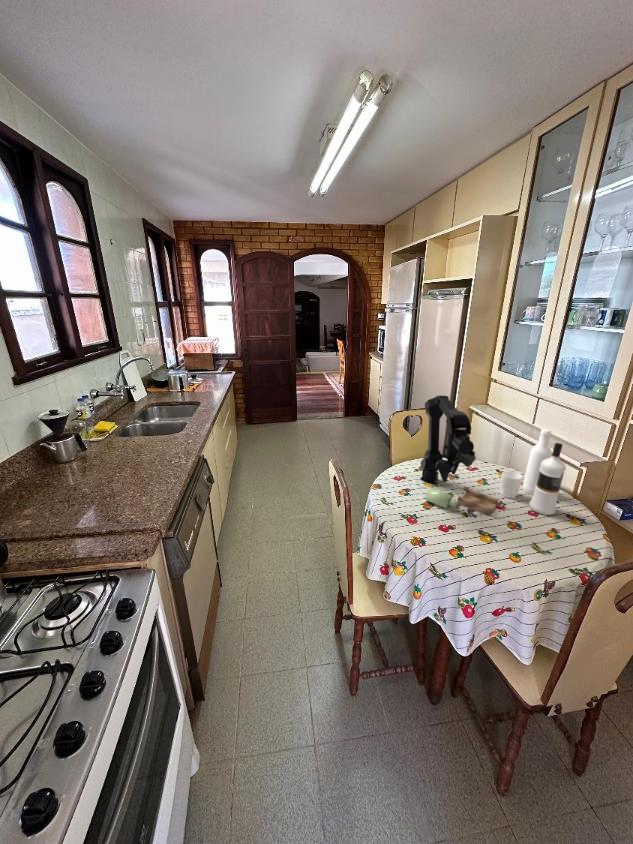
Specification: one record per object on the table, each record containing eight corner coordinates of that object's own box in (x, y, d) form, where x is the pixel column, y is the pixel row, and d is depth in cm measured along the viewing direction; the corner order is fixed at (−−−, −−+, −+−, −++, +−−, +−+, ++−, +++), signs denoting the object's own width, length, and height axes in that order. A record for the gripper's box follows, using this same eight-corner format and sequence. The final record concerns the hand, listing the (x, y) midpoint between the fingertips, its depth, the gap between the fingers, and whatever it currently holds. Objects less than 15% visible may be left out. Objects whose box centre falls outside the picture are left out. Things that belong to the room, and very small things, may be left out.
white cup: (516, 501, 151) (520, 481, 147) (496, 495, 155) (500, 475, 152) (519, 493, 157) (523, 474, 153) (500, 488, 161) (503, 469, 158)
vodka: (535, 501, 151) (551, 437, 141) (559, 511, 144) (577, 445, 134) (524, 507, 146) (540, 442, 136) (548, 518, 139) (566, 450, 129)
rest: (457, 503, 149) (458, 497, 148) (466, 494, 156) (467, 488, 155) (488, 515, 140) (489, 509, 139) (497, 505, 148) (498, 499, 147)
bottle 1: (424, 502, 150) (426, 490, 148) (431, 497, 154) (432, 485, 152) (454, 515, 141) (456, 502, 139) (460, 508, 145) (462, 496, 143)
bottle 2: (545, 495, 155) (561, 433, 145) (527, 495, 155) (542, 433, 145) (535, 486, 163) (550, 426, 153) (518, 486, 163) (532, 426, 153)
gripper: (466, 457, 128) (460, 493, 133) (482, 442, 141) (476, 476, 146) (437, 448, 135) (432, 484, 140) (455, 435, 148) (450, 468, 153)
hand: (449, 478), depth 145 cm, fingers open, 9 cm apart
